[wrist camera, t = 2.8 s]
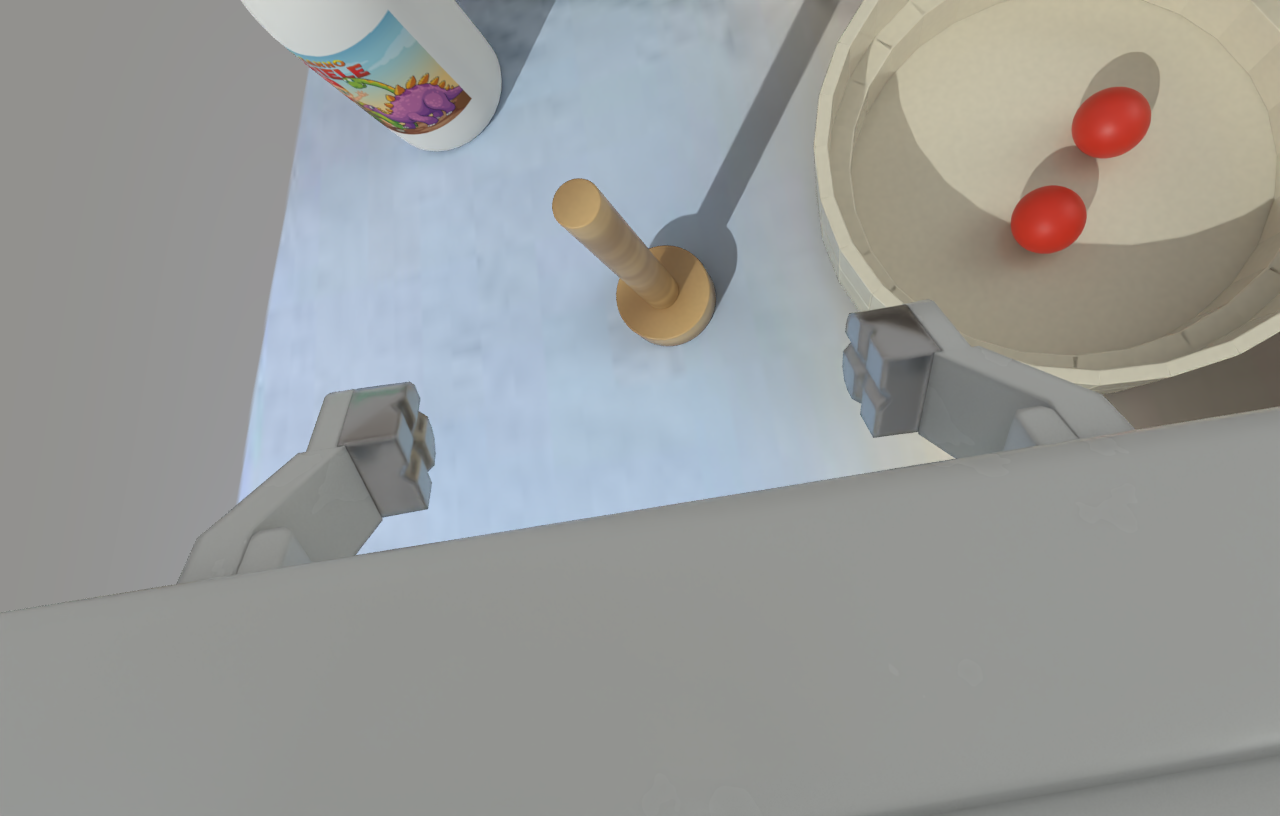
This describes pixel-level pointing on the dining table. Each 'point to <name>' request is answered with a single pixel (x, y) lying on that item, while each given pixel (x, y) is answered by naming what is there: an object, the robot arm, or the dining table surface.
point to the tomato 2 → (1111, 122)
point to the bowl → (1060, 177)
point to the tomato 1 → (1048, 219)
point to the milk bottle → (396, 62)
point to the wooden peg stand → (639, 268)
